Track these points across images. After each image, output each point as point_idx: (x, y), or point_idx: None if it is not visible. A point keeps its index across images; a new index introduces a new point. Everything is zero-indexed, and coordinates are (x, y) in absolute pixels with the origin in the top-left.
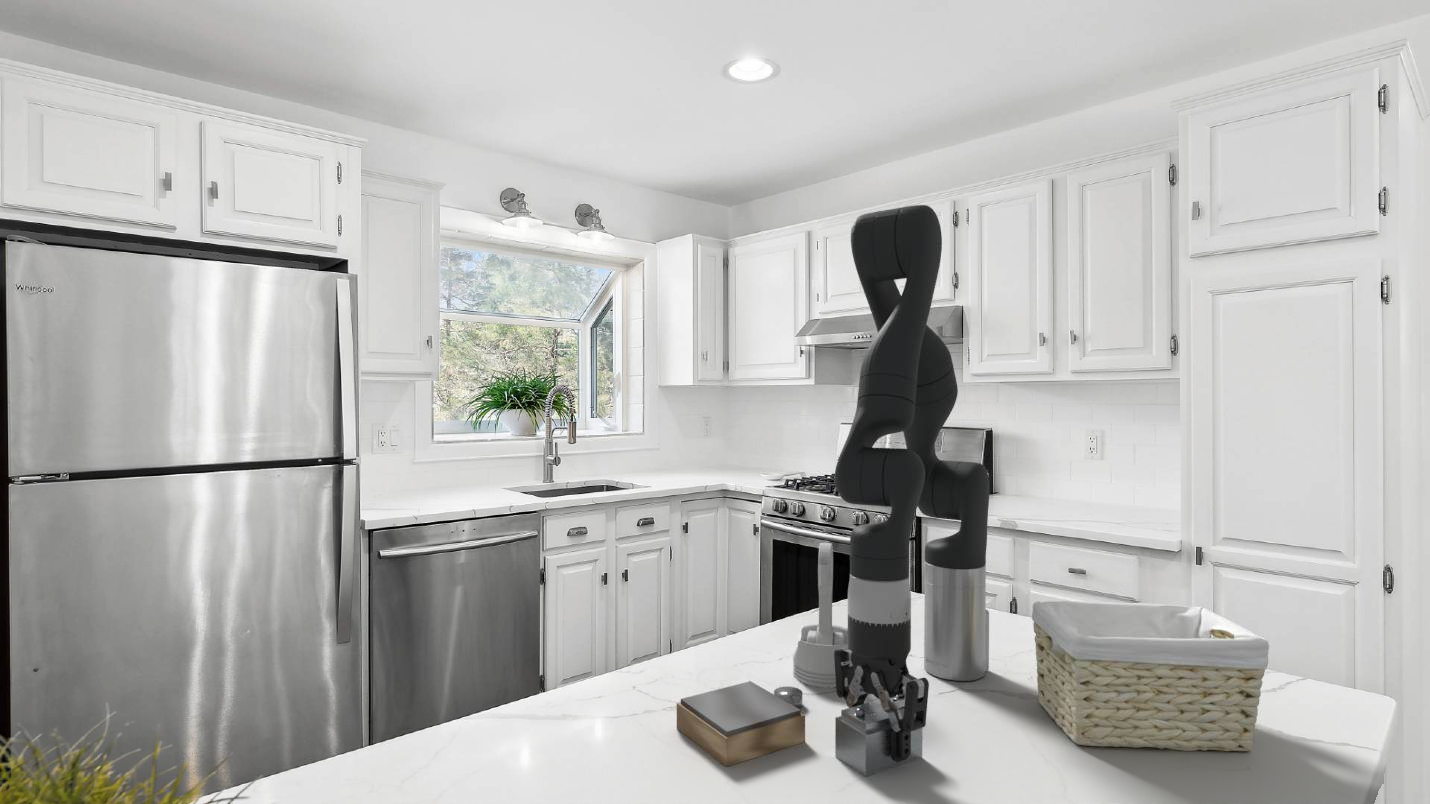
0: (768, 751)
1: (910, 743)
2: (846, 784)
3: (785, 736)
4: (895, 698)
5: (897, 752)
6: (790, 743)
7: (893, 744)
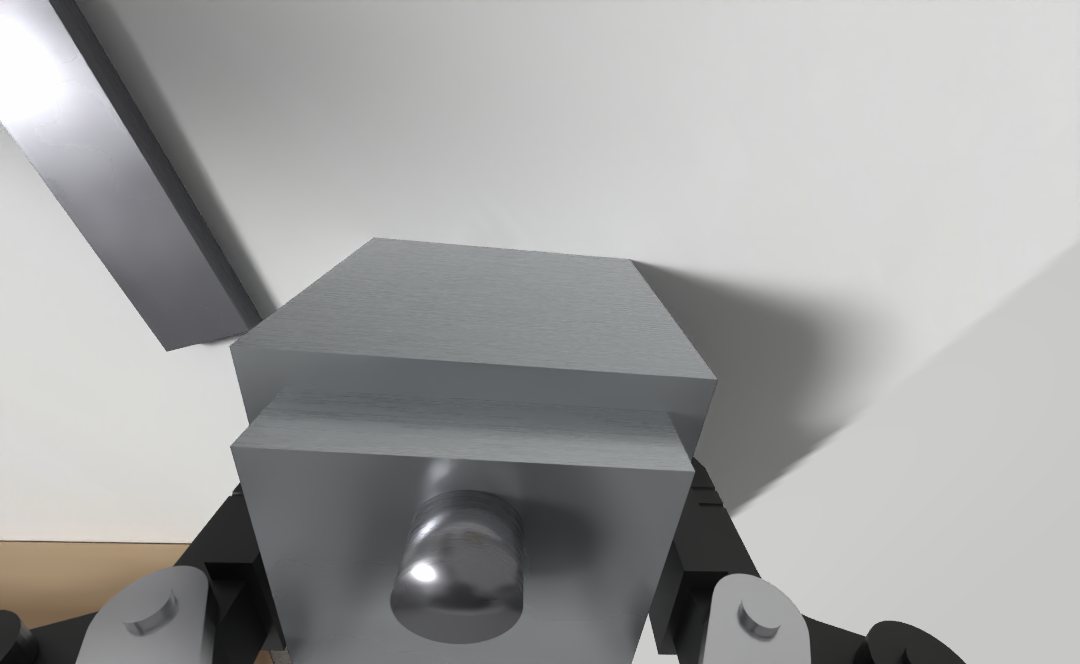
0: (266, 662)
1: (725, 511)
2: None
3: None
4: (447, 622)
5: None
6: None
7: None
